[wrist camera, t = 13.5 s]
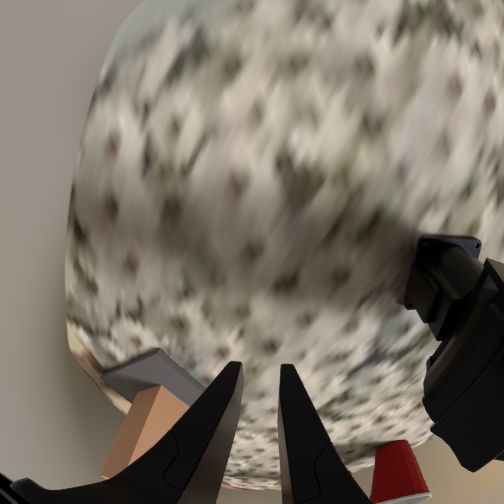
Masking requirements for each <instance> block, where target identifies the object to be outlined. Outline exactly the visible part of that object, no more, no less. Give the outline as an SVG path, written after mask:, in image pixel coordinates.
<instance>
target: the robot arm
mask: <svg viewBox="0 0 504 504" xmlns="http://www.w3.org/2000/svg"><path fill="white" fill-rule="evenodd" d="M425 241H427V243H426V244H425V245H423V244H424V242H425ZM476 244H477V245H476ZM481 245H482V243H481V241H480V240H479V239H477V238H462V237H442V236H422V237H421V238H420V239H419V242H418V247H417V252H416V257H415V261H414V263H413V264H412V267H411V272H410V276H409V280H408V284H407V287H406V296H405V300H404V306H405V308H406V309H407V310H415V309H416V310H417V312H418V314H419V316H420V318H421V320H422V321H423V323H428V325H429V327H430V329H431V331H432V333H433V335H434V337H435V339H436V340H437V341H442V342H441V344H440V345H439V347H438V348H437V350H436V351H435V353H434V354H433V355H432V356H430V358H429V359H428V360H427V362H426V367H427V373H426V376H425V379H424V382H423V385H424V397H423V398H422V402H423V405H424V407H425V410H426V412H427V414H428V415H429V417H430V418H431V420H432V421H433V422H434V423H435V424H434V425H433V426H432V427H431V428H430V431H431V432H432V433H434V434H435V435H437V436H439V437H440V438H442V439H443V440H444V441H445V442H446V443H447V444H448V445H449V446H450V448H451V449H452V450H453V452H454V454H455V455H456V457H457V459H458V460H459V462H460V464H461V466H462V467H464V468H466V469H467V470H469V471H471V472H476V471H477V470H479V469H481V468H482V467H484V466H485V465H486V464H488V463H489V462H490V461H492V460H493V459H494V460H500V461H504V264H503V263H500V262H498V261H495V260H492V259H489V258H486V260H485V263H484V265H483V264H482V263H481V262H480V261H479V260H478V257H479V253H480V249H481ZM409 303H411V304H409ZM408 304H409V305H408ZM243 382H244V375H243V365H242V362H238V361H230V362H229V363H228V364H227V365H226V366H225V367H224V369H223V370H222V371H221V372H220V373H219V374H218V376H217V377H216V378H215V379H214V380H213V381H212V383H211V384H210V385H209V386H208V387H207V388H206V390H205V391H204V392H203V393H202V394H201V395H200V396H199V397H198V399H197V400H196V401H195V402H194V403H193V404H192V405H191V406H190V408H189V409H188V410H187V411H186V412H185V413H184V414H183V415H182V416H181V418H180V419H179V420H178V421H177V422H176V423H175V424H174V425H173V426H172V427H171V429H169V430H168V432H167V433H166V434H165V435H164V436H163V437H162V438H161V439H160V440H159V441H158V442H157V443H156V444H155V445H154V446H153V447H151V448H150V449H149V450H148V451H147V452H145V453H144V454H143V455H142V456H140V457H139V458H138V459H137V460H135V461H134V462H133V463H131V464H130V465H129V466H127V467H126V468H125V469H123V470H122V471H121V472H119V473H118V474H117V475H115V476H113V477H111V478H109V479H107V480H105V481H102V482H98V483H93V484H88V485H84V486H78V487H73V488H67V489H61V490H48V489H45V488H43V487H42V486H40V485H38V484H37V483H36V482H34V481H33V480H31V479H29V478H23V479H20V480H17V481H15V482H14V481H12V480H11V479H9V478H8V477H6V476H5V475H3V474H2V473H0V504H215V503H216V500H217V497H218V493H219V490H220V487H221V483H222V480H223V476H224V473H225V469H226V466H227V462H228V458H229V455H230V451H231V448H232V444H233V440H234V437H235V433H236V429H237V425H238V421H239V416H240V408H241V399H242V391H243ZM277 422H278V440H279V455H280V471H281V488H282V504H373V503H372V502H371V501H370V500H369V498H368V497H367V496H366V494H365V493H364V492H363V490H362V489H361V488H360V487H359V485H358V484H357V482H356V481H355V480H354V478H353V477H352V475H351V474H350V473H349V471H348V470H347V468H346V467H345V465H344V464H343V462H342V460H341V458H340V457H339V455H338V453H337V451H336V449H335V447H334V445H333V443H332V442H330V441H331V440H330V438H329V436H328V434H327V432H326V430H325V428H324V426H323V423H322V421H321V419H320V417H319V415H318V413H317V411H316V409H315V407H314V405H313V403H312V401H311V399H310V397H309V395H308V393H307V391H306V389H305V387H304V385H303V383H302V381H301V379H300V377H299V375H298V373H297V371H296V369H295V367H294V365H293V364H281V369H280V385H279V402H278V421H277Z"/></svg>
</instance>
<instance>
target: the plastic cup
mask: <svg viewBox="0 0 504 504" xmlns="http://www.w3.org/2000/svg"><path fill="white" fill-rule="evenodd" d="M431 497H432V493H430V491H429V490H428V487H427V486H426V483H425V480H424V478H423V476H422V473H421V470H420V468H419V465H418V462H417V460H416V457H415V455H414V454H413V451H412V449H411V446H410V444H409V443H408V441H406V440H399V441H394V442H391V443H388V444H386V445H383V446H381V447H380V448H379V449H377V451H376V455H375V468H374V474H373V482H372V491H371V495H370V499H369V500H370V501H371V502H372V503H373V504H418V503H420V502H423V501H425V500H427V499H429V498H431Z"/></svg>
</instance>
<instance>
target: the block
mask: <svg viewBox="0 0 504 504" xmlns="http://www.w3.org/2000/svg"><path fill="white" fill-rule="evenodd" d="M189 408H190V407H189V406H188V405H187V404H185V403H184V402H183V401H181V400H180V399H179V398H177V397H176V396H175V395H174V394H172V393H171V392H170V391H168V390H167V389H166V388H165V387H164V386H162V385H159V386H156V387H153V388H150V389H146V390H143V391H139V392H138V393H137V395H136V397H135V399H134V401H133V403H132V405H131V408H130V410H129V412H128V414H127V416H126V418H125V420H124V423H123V425H122V427H121V429H120V431H119V434H118V436H117V438H116V440H115V442H114V445H113V447H112V449H111V451H110V454H109V456H108V458H107V461H106V463H105V465H104V467H103V470H102V472H101V475H100V476H102V477H104V478H105V479H109V478H111V477H113V476H115V475H117V474H118V473H119V472H121V471H122V470H123V469H125V468H126V467H127V466H129V465H130V464H131V463H133V462H134V461H135V460H137V459H138V458H139V457H140V456H142V455H143V454H144V453H145V452H147V451H148V450H149V449H150V448H151V447H153V446H154V445H155V444H156V443H157V442H158V441H159V440H160V439H161V438H162V437H163V436H164V435H165V434H166V433H167V432H168V430H169V429H171V427H172V426H173V425H174V424H175V423H176V422H177V421H178V420H179V419H180V418H181V416H182V415H183V414H184V413H185V412H186V411H187V410H188V409H189Z"/></svg>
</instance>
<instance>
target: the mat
mask: <svg viewBox="0 0 504 504" xmlns="http://www.w3.org/2000/svg"><path fill="white" fill-rule="evenodd" d="M101 379H102V380H103V381H105V382H106V383H107V384H108V385H109V386H110V387H112V388H113V389H114V390H115V391H116V392H118V393H119V394H120V395H121V396H123V397H124V398H125V399H126V400H128V401H129V402H130V403H131V404H132V403H133V401H134V399H135V397H136V395H137V393H138V392H139V391H143V390H146V389H150V388H153V387H156V386H159V385H162V386H164V387H165V388H166V389H167V390H168V391H170V392H171V393H172V394H174V395H175V396H176V397H177V398H179V399H180V400H181V401H183V402H184V403H185V404H187V405H188V406H189V407H190V406H191V405H192V404H193V403H194V402H195V401H196V400H197V399H198V397H199V396H200V395H201V394H202V393H203V392H204V391H205V390H206V388H205V387H204V386H202V385H201V384H200V383H199V382H197V381H196V380H195V379H194V378H193V377H191V376H190V375H189V374H188V373H187V372H186V371H184V370H183V369H182V368H181V367H180V366H179V365H178V364H176V363H175V362H174V361H173V360H172V359H171V358H170V357H169V356H168V355H167V354H165V353H164V352H163V351H162V350H161V349H157V350H155V351H153V352H151V353H149V354H146V355H144V356H142V357H140V358H138V359H135V360H133V361H131V362H129V363H126V364H124V365H122V366H120V367H117V368H115V369H113V370H110V371H108V372H106V373H104V374H102V376H101Z"/></svg>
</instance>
